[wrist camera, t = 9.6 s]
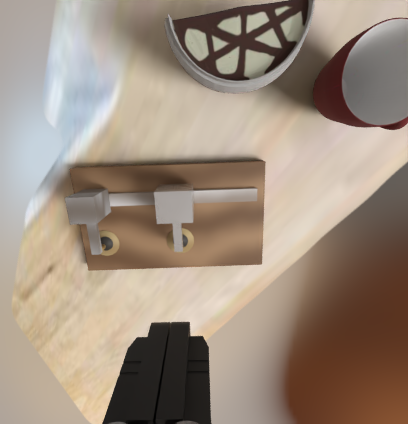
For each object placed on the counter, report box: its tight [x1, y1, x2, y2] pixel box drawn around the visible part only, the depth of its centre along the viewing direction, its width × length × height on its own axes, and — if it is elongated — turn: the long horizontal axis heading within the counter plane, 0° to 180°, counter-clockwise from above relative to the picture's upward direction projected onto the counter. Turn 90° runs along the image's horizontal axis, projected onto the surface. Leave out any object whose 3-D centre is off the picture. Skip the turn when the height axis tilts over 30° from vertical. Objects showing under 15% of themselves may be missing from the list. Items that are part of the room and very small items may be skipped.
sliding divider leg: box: [154, 183, 194, 252], centre depth 30 cm, size 8×4×4 cm, turn 2°
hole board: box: [65, 161, 265, 270], centre depth 32 cm, size 14×24×6 cm, turn 92°
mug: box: [313, 18, 408, 130], centre depth 26 cm, size 10×8×10 cm
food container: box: [165, 0, 315, 94], centre depth 25 cm, size 12×6×10 cm, turn 99°
